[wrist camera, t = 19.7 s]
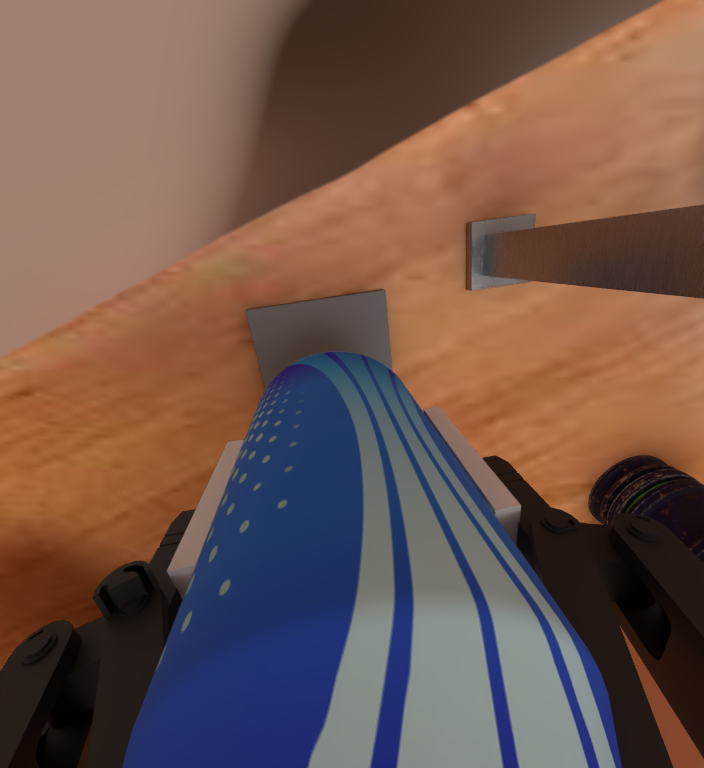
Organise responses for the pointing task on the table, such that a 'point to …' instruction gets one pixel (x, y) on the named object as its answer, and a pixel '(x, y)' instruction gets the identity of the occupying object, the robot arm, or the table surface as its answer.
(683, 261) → the post
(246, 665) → the beer can
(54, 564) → the table surface
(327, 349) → the coaster
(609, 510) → the storage jar
